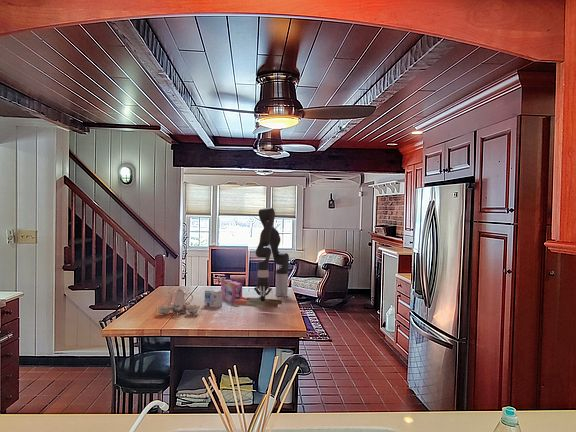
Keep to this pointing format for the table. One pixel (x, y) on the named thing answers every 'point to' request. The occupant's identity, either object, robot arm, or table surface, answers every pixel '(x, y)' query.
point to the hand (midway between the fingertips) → (262, 301)
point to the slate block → (255, 298)
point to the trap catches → (242, 300)
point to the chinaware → (178, 304)
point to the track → (264, 303)
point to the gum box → (231, 289)
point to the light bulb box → (213, 298)
